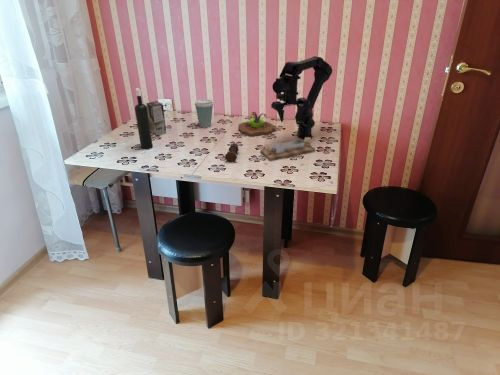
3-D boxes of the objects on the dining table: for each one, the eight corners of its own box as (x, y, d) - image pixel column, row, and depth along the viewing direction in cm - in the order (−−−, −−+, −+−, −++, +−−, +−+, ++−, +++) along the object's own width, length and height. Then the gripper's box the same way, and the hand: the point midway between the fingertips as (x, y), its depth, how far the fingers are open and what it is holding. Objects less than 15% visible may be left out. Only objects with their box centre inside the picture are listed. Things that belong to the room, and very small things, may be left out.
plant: (232, 128, 214) (231, 109, 208) (261, 122, 222) (261, 103, 217) (249, 139, 199) (249, 119, 193) (280, 132, 207) (280, 113, 201)
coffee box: (167, 133, 207) (163, 104, 199) (156, 135, 204) (152, 106, 196) (160, 128, 213) (156, 100, 205) (149, 130, 210) (145, 102, 202)
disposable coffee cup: (192, 126, 215) (190, 101, 208) (204, 121, 223) (202, 96, 216) (206, 130, 210) (204, 104, 203) (218, 124, 218) (217, 99, 210)
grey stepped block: (298, 144, 187) (299, 139, 186) (305, 148, 183) (305, 143, 181) (270, 150, 182) (270, 144, 180) (276, 154, 177) (276, 148, 175)
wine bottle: (146, 144, 193) (137, 86, 178) (155, 146, 191) (146, 87, 176) (138, 148, 189) (128, 89, 174) (147, 150, 187) (138, 90, 172)
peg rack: (304, 144, 191) (304, 134, 189) (315, 151, 183) (315, 141, 181) (260, 153, 182) (260, 142, 180) (269, 161, 174) (269, 150, 172)
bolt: (236, 153, 187) (232, 165, 174) (227, 148, 187) (223, 160, 173) (242, 143, 185) (238, 155, 172) (233, 138, 184) (228, 150, 171)
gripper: (299, 83, 190) (297, 113, 197) (266, 87, 183) (266, 118, 191) (311, 88, 181) (308, 119, 188) (277, 93, 174) (276, 125, 182)
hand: (289, 120), depth 188 cm, fingers open, 9 cm apart
